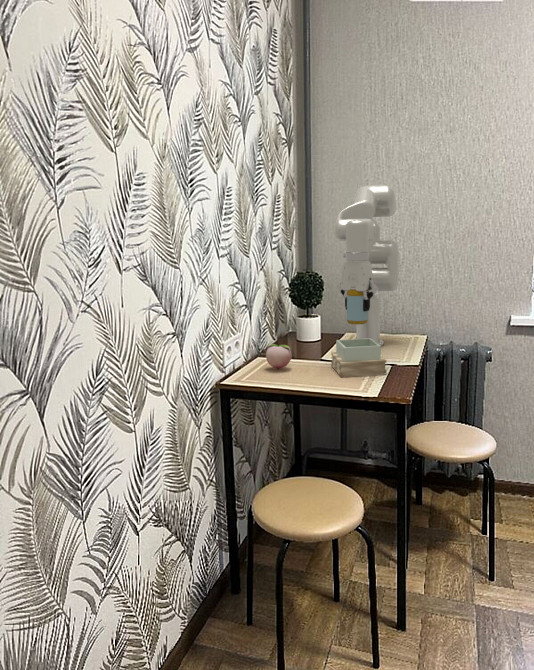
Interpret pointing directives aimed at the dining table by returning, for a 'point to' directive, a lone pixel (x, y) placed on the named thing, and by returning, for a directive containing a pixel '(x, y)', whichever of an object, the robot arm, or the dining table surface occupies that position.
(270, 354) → the decorative fruit
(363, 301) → the robot arm
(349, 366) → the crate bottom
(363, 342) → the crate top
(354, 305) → the bottle
